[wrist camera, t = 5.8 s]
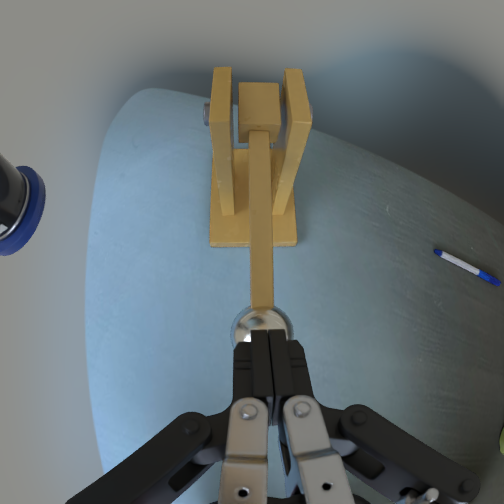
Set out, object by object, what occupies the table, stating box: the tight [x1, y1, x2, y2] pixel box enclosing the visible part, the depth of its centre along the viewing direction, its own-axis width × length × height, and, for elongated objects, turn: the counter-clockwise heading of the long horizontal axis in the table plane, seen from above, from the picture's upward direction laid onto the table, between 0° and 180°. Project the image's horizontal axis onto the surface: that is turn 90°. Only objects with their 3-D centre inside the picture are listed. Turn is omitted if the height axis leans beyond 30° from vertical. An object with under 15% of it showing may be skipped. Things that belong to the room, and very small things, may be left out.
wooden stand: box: [204, 67, 313, 247], centre depth 20 cm, size 9×7×13 cm
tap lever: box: [230, 82, 294, 349], centre depth 15 cm, size 15×3×3 cm, turn 1°
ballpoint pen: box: [434, 249, 501, 286], centre depth 25 cm, size 10×1×1 cm, turn 71°
